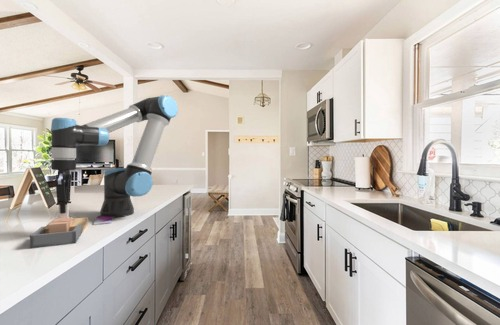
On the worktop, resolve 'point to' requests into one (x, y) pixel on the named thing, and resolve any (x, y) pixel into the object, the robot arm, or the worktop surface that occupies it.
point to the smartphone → (102, 220)
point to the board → (73, 224)
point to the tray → (54, 237)
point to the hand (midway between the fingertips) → (63, 221)
